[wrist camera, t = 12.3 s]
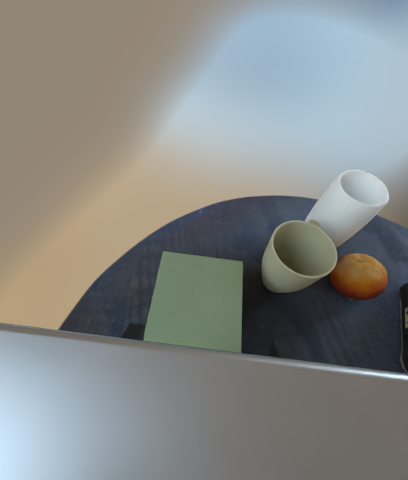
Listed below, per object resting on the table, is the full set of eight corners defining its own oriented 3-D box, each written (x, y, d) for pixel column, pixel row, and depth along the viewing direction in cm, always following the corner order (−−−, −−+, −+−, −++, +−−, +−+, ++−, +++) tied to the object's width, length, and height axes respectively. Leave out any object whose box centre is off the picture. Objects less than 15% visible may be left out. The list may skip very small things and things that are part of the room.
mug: (311, 303, 41) (354, 275, 30) (255, 306, 40) (280, 279, 29) (294, 247, 46) (325, 208, 36) (244, 249, 45) (262, 210, 35)
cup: (325, 216, 51) (369, 164, 39) (347, 249, 47) (404, 203, 35) (290, 223, 49) (324, 171, 37) (310, 259, 45) (356, 213, 33)
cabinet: (227, 372, 34) (240, 369, 26) (149, 362, 34) (139, 356, 26) (231, 285, 41) (243, 261, 33) (167, 276, 41) (162, 251, 33)
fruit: (359, 321, 38) (368, 283, 34) (319, 292, 44) (323, 257, 40) (392, 300, 40) (405, 263, 36) (350, 276, 47) (356, 241, 43)
